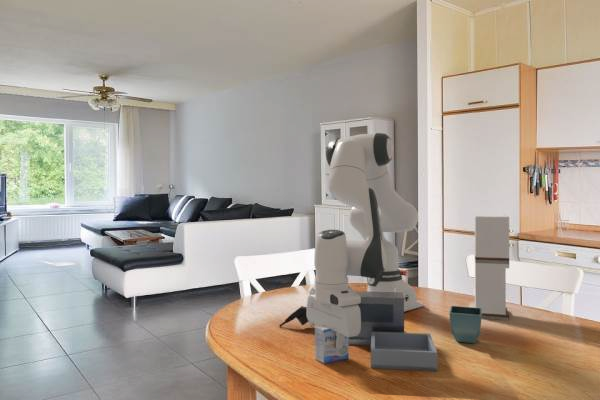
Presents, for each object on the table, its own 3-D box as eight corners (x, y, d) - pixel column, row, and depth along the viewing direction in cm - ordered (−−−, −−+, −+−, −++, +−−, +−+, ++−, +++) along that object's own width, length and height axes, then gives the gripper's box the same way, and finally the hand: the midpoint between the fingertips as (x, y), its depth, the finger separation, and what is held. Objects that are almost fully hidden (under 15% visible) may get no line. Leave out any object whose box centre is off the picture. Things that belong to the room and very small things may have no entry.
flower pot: (482, 346, 135) (481, 314, 135) (449, 343, 139) (449, 312, 138) (481, 337, 144) (481, 307, 144) (450, 335, 147) (450, 305, 147)
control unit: (346, 334, 149) (345, 290, 148) (405, 336, 146) (405, 291, 146) (344, 344, 139) (343, 297, 139) (408, 346, 136) (407, 298, 136)
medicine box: (323, 364, 123) (323, 330, 122) (314, 359, 126) (314, 326, 126) (349, 359, 126) (349, 326, 126) (339, 354, 130) (339, 322, 130)
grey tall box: (509, 321, 162) (509, 216, 161) (475, 318, 165) (475, 216, 165) (506, 313, 173) (506, 215, 172) (474, 310, 176) (474, 215, 175)
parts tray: (371, 347, 135) (371, 331, 135) (430, 349, 133) (430, 333, 133) (370, 367, 120) (370, 349, 120) (437, 371, 117) (437, 352, 117)
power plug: (280, 321, 160) (308, 300, 158) (294, 340, 159) (322, 319, 157) (276, 326, 154) (305, 304, 152) (290, 345, 154) (319, 324, 151)
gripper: (300, 287, 133) (301, 337, 134) (344, 301, 116) (344, 358, 116) (319, 285, 137) (320, 333, 137) (365, 298, 119) (365, 353, 119)
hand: (331, 345), depth 126 cm, fingers closed on medicine box, 4 cm apart
